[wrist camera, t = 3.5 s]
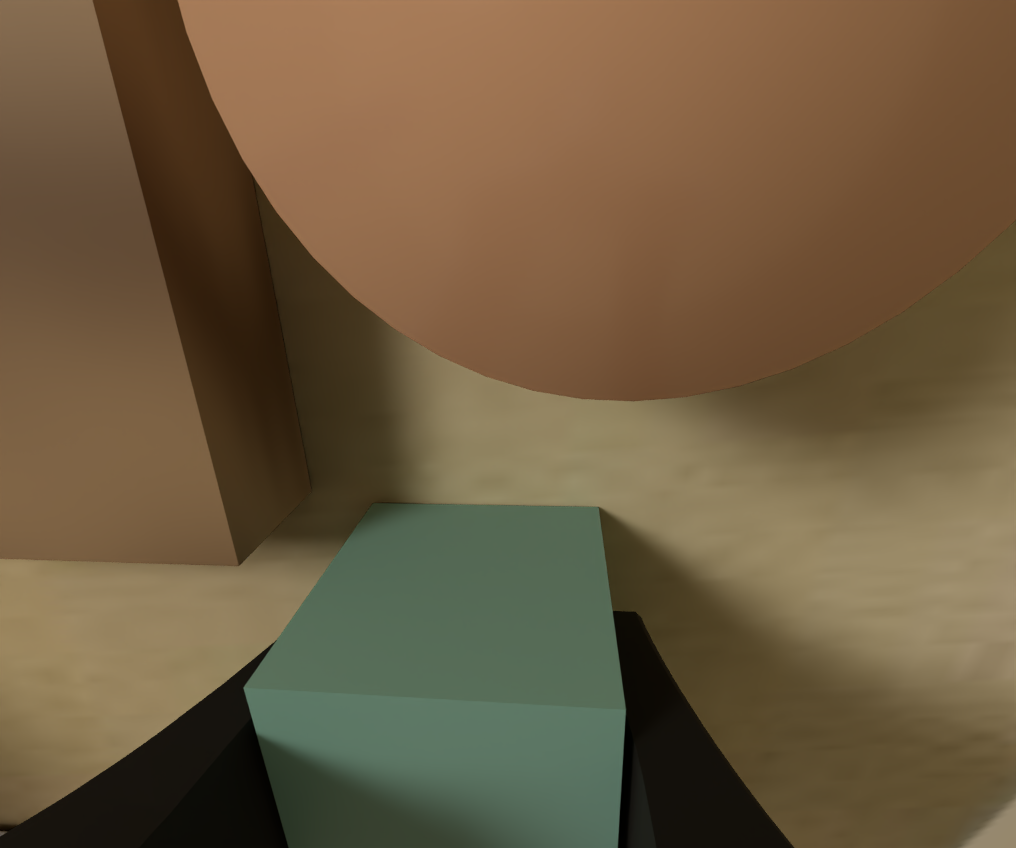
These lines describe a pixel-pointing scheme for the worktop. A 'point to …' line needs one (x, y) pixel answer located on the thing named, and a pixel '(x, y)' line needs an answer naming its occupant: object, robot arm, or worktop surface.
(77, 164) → the base
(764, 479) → the worktop surface
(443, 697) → the cube
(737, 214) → the rounded knob
